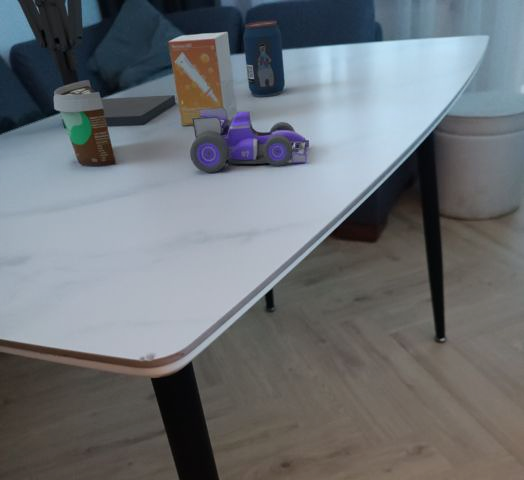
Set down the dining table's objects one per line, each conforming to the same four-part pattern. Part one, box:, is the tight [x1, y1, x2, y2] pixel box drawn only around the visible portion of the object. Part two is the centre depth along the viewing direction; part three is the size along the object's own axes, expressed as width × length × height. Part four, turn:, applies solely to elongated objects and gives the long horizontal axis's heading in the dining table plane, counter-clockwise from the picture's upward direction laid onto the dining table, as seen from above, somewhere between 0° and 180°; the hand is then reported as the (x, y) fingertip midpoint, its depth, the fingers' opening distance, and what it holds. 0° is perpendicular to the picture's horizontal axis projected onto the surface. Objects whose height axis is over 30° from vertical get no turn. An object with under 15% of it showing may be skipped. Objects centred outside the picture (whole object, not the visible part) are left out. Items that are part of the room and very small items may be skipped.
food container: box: [53, 79, 117, 167], centre depth 87 cm, size 12×6×10 cm, turn 21°
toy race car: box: [189, 108, 310, 174], centre depth 80 cm, size 10×15×6 cm, turn 83°
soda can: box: [243, 20, 286, 98], centre depth 112 cm, size 7×7×12 cm
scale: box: [61, 94, 177, 129], centre depth 111 cm, size 17×15×4 cm
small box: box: [167, 31, 238, 127], centre depth 98 cm, size 8×6×13 cm
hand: (73, 90), depth 107 cm, fingers closed
